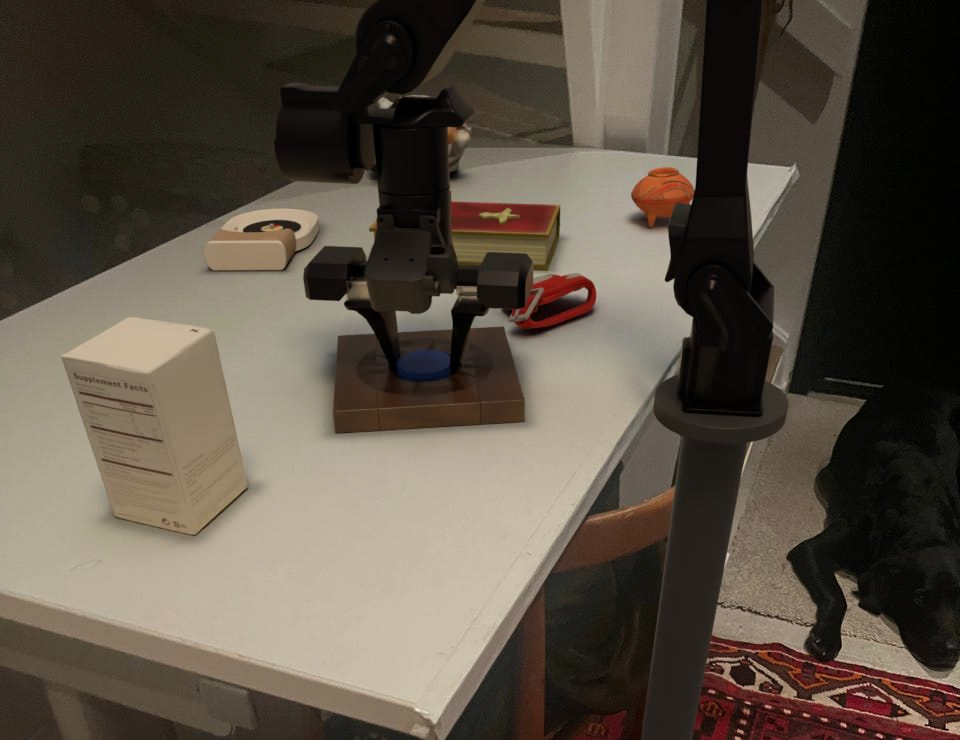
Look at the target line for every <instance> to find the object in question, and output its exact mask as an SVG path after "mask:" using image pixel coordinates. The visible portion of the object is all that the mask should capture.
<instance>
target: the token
mask: <svg viewBox="0 0 960 740" xmlns="http://www.w3.org/2000/svg"><path fill="white" fill-rule="evenodd" d="M397 375H398V378H400V379H403V380H408V381H416V382H426V381H437V380H441V379H445V378H448V377H450V376H451V368H450V355H448V354H446V353H444V352H441V351H436V350H418V351H413V352H409V353H406V354H404V355H402V356H401V357H399V358H398V360H397Z"/></svg>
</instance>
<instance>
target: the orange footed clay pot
mask: <svg viewBox="0 0 960 740" xmlns="http://www.w3.org/2000/svg"><path fill="white" fill-rule="evenodd" d="M694 191H695V187H694V186H693V184H692V183H691V182H690V180H689V179H688V178H687V177H686V176H685V175H683V174H682V173H680V170H679V169H678V168H676V167H671V166H665V167H657V168H654V169H651V170H649V171H648V172H647V175H646V176H644V177H643V178H641V179H640V180H639V181H638V182H637V183H636V184H635V185H634V187H633V188H632V190H631V193H630V197H631V200H632V203H634V204H635V206H636V207H637V208H638V209H639V210H640V211H641V212H643V214H644V215H645V216H646V218H647V222H648V226H649V227H650V228H654V224H655V222H656V219H657V218H668V217H671V215H672V212H673V209H674V205H675V203H676V202H679V203H685V204H691V202H692V200H693V196H694Z"/></svg>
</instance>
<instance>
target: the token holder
mask: <svg viewBox="0 0 960 740" xmlns="http://www.w3.org/2000/svg"><path fill="white" fill-rule="evenodd" d="M398 337H399V346H400V357H401V356H402V355H404V354H406V353H409V352H413V351H418V350H436V351H441V352H444V353H446V354H448V355H450V354H451V339H452V328H450V329H434V330H433V329H432V330H415V331H398ZM336 342H337V343H336V358H335V372H334V387H333V399H332V400H333V402H332V417H333V424H334V425H333V426H334V432H335V433H336V434H343V433H358V432H374V431H375V432H377V431H390V430H391V431H392V430H409V429H424V428H426V429H427V428H439V427H440V428H441V427H456V426H472V425H474V426H475V425H491V424H492V425H493V424H505V423H506V424H507V423H508V424H509V423H525V418H526V417H525V415H526V410H525V409H526V399H525V396H524V392H523V389H522V386H521V382H520V379H519V375H518V372H517V368H516V365H515V361H514V357H513V354H512V350H511V347H510V344H509V340H508V337H507V333H506V329H505V327H504V326H486V327H471V329H470V332H469V335H468V339H467V342H466V345H465V349H464V352H463V355H462V359H461V362H460V365H459V369H458V372H457V373H456V374H454V375H452V376H450V377H448V378H445V379H441V380H437V381H426V382H416V381H408V380H403V379H400V378H398V375H397V373H393V372H392V369H391V367H390V365H389V363H388V361H387V359H386V357H385V354H384V352H383V350H382V348H381V346H380V344H379V342H378V339H377V337H376V335H375V333H361V334H345V335H344V334H343V335H338V336H337V341H336Z"/></svg>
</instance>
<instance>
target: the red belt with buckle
mask: <svg viewBox="0 0 960 740" xmlns="http://www.w3.org/2000/svg"><path fill="white" fill-rule="evenodd" d="M583 288H584V289H586V290H587V297H586V300H585V301H584V302H583V303H582V304H580V305H578V306H575V307H573V308H570V309H567V310H565V311H562V312H560V313H557V314H554V315H552V316H549V317H546V318H543V319H541V320H538V321H533V320H532V318H531V315H532V314H533V313H537V311H538V310H539V309H538V306H542V305H547V304H549V303H552V302H553V301H556V300H558V299H560V298H562V297H565V296H566V295H569V294H571V293H573V292H577V291H580V290H582V289H583ZM596 300H597V289H596V285H595V283H594V282H593V281H592V280H591V279H589V278H588V277H586V276H585V275H582V274H581V273H579V272H574V273H568V274H565V275H559V274H551V273H550V274H544V275H540V276H536V277H533V287H532V290H531V292H530V295H529V298H528V301H527V303H526V306H525V307H524V308H520V309H506V310H507V311H511V314H510V315H509V317H508V319H507V321H508V323H514V324H515V325H516V326H517V327H518V328H521V329H523V330H529V329H539V328H546V327H551V326H554V325H556V324H560V323H563V322H565V321H568V320H571V319H573V318H576V317H579V316H581V315H584V314H586V313H588V312H590V311H591V309H593V307H594V306H595V304H596Z"/></svg>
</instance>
